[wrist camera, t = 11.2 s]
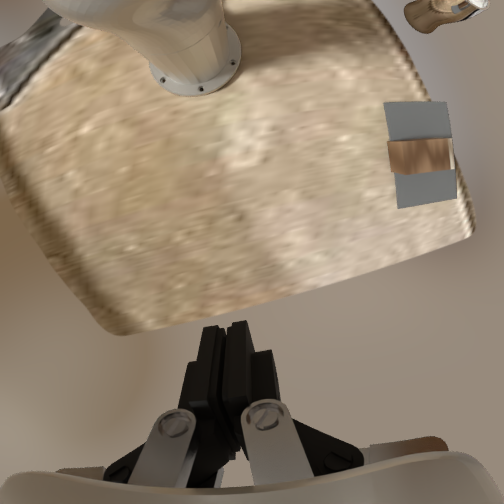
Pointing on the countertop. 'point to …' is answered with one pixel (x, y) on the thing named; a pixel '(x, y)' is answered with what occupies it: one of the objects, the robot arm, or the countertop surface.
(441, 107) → the grey mat
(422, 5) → the beer glass
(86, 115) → the countertop surface
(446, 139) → the walnut block
